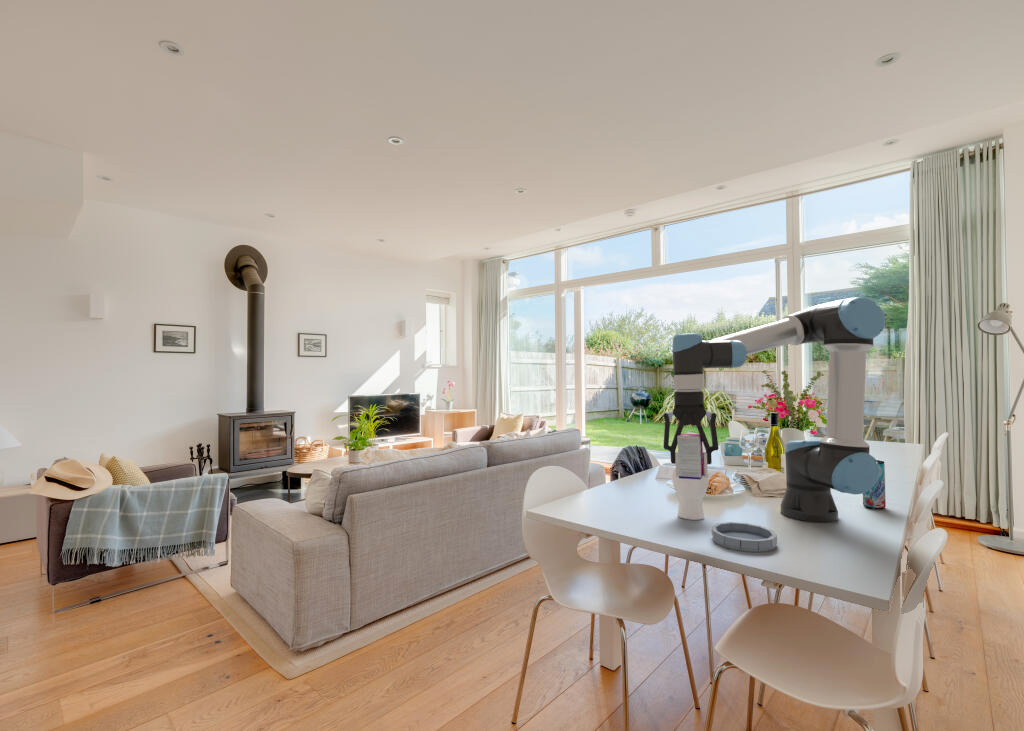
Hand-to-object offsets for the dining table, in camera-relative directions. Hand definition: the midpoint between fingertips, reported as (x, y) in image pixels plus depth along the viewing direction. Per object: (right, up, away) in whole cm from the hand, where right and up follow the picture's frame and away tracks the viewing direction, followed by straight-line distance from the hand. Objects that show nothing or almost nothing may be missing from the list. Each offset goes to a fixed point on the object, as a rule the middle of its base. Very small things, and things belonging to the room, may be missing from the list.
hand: (691, 475), depth 132 cm
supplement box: (0, 0, 0) cm, 0 cm away
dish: (+12, -16, -5) cm, 21 cm away
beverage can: (+69, -16, +26) cm, 75 cm away
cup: (+7, -17, +19) cm, 26 cm away
